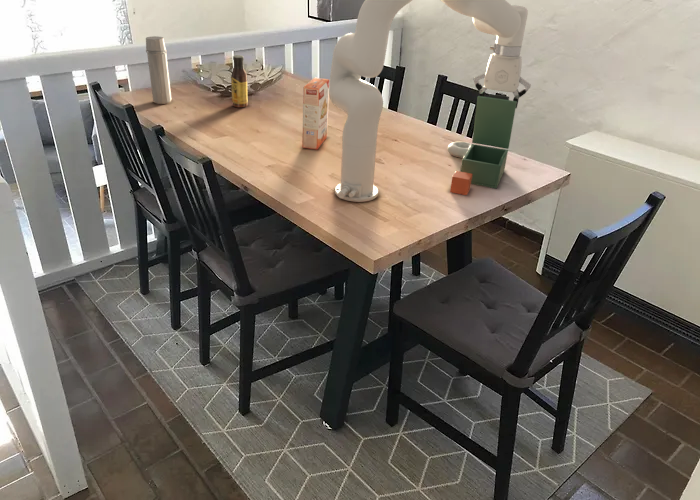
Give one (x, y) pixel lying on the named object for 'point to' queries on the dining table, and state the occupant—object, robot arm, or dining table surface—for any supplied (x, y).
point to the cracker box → (315, 113)
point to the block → (461, 183)
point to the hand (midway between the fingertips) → (497, 108)
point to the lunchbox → (484, 165)
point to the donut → (459, 148)
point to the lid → (494, 121)
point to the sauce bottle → (239, 83)
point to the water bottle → (158, 69)
